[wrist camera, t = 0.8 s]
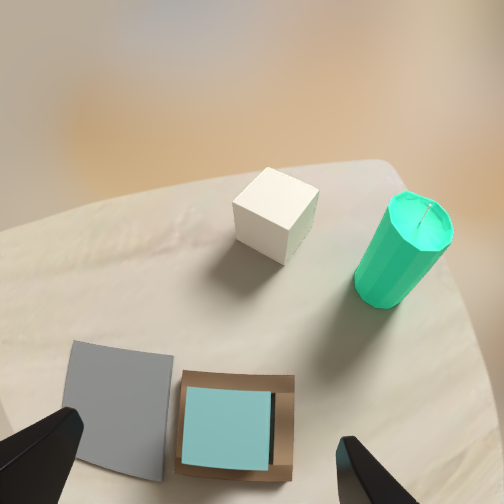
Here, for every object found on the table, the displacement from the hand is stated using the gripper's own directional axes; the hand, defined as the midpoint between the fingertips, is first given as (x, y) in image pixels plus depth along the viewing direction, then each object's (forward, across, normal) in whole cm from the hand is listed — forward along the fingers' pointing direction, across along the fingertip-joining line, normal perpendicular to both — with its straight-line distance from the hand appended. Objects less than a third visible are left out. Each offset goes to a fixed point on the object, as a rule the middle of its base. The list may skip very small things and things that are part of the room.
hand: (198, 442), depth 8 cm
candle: (+22, -14, +3) cm, 26 cm away
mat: (+11, +12, +12) cm, 20 cm away
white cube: (+26, -3, -1) cm, 26 cm away
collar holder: (+11, 0, +12) cm, 16 cm away
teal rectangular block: (+11, 0, +12) cm, 16 cm away
